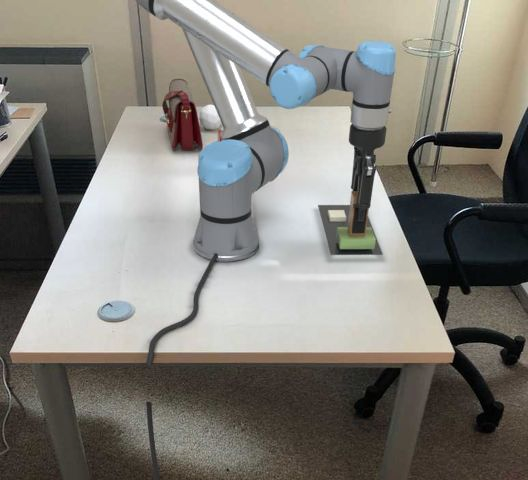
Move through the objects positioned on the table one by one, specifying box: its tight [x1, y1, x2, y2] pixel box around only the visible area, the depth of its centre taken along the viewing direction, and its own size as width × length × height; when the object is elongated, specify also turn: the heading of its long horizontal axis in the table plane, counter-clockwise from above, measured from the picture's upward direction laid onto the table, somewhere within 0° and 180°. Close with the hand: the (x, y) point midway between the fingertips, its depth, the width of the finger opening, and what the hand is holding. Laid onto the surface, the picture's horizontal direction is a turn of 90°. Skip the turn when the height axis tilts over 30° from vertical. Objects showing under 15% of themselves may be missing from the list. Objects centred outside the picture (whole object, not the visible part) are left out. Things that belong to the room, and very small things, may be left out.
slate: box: [317, 204, 384, 256], centre depth 158 cm, size 26×12×2 cm, turn 3°
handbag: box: [161, 78, 204, 151], centre depth 202 cm, size 28×11×17 cm, turn 11°
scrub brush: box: [336, 190, 376, 249], centre depth 146 cm, size 6×8×12 cm
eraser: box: [328, 210, 346, 221], centre depth 161 cm, size 4×4×1 cm
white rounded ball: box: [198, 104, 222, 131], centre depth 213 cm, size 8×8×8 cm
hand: (356, 227), depth 147 cm, fingers closed on scrub brush, 4 cm apart
